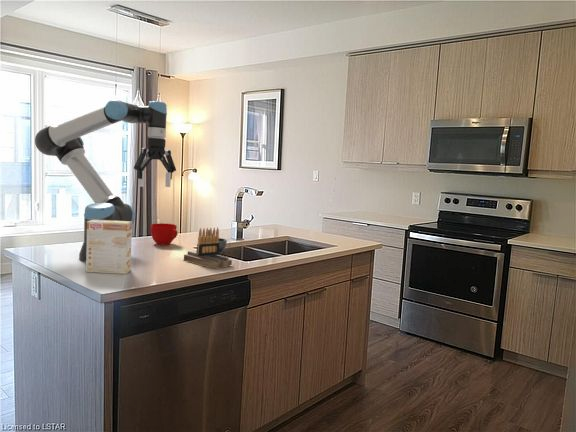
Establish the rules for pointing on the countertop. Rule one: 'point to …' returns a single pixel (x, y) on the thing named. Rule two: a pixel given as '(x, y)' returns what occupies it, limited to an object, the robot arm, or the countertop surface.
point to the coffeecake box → (108, 246)
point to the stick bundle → (208, 260)
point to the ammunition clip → (208, 242)
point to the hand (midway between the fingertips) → (154, 186)
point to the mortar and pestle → (221, 245)
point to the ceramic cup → (163, 233)
